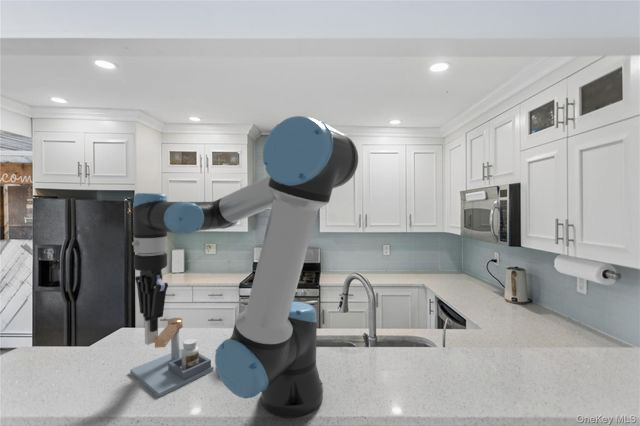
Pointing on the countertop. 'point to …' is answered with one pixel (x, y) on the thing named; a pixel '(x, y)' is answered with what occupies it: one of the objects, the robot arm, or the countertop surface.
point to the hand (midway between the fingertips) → (151, 342)
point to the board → (170, 370)
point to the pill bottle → (190, 354)
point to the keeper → (168, 332)
